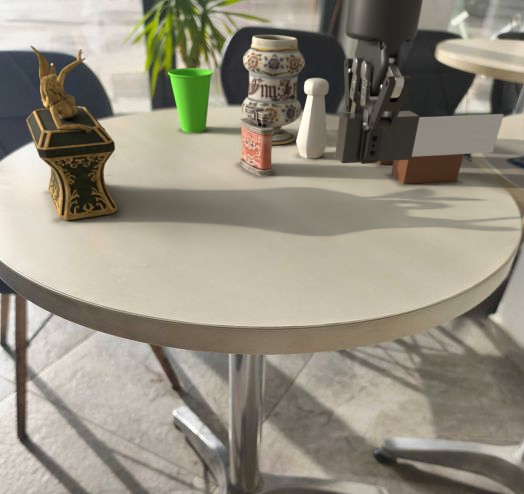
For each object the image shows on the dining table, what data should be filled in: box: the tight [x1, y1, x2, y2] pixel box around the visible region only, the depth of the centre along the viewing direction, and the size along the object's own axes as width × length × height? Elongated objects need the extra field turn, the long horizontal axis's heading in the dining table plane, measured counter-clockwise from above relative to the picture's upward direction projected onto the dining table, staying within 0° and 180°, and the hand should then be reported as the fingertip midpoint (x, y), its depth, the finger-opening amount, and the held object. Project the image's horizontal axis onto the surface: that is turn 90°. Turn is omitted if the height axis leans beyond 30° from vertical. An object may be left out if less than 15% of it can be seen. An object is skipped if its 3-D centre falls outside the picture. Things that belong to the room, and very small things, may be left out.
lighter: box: [240, 104, 273, 177], centre depth 85 cm, size 8×3×10 cm, turn 32°
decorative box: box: [25, 45, 119, 221], centre depth 69 cm, size 20×10×20 cm, turn 25°
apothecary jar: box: [241, 34, 306, 146], centre depth 97 cm, size 12×12×18 cm
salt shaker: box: [295, 77, 330, 159], centre depth 91 cm, size 6×6×13 cm
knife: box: [334, 110, 505, 164], centre depth 61 cm, size 21×3×5 cm, turn 103°
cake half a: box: [390, 154, 465, 185], centre depth 84 cm, size 10×5×6 cm, turn 103°
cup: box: [167, 67, 214, 134], centre depth 103 cm, size 9×9×11 cm
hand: (362, 157), depth 61 cm, fingers closed on knife, 2 cm apart
